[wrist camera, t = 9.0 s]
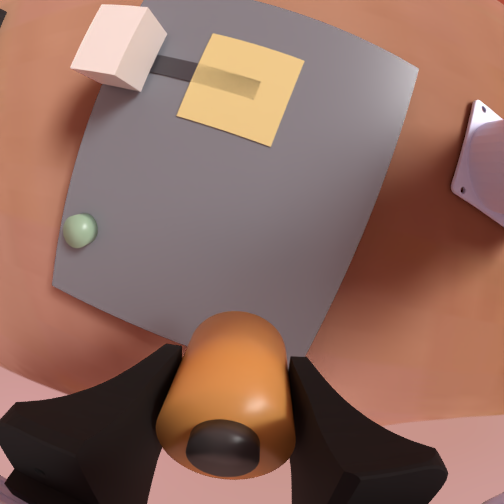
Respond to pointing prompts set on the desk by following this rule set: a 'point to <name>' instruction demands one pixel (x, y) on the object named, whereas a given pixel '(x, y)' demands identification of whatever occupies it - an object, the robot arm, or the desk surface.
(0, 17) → the disk drive
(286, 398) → the cap
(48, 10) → the desk surface
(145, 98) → the panel
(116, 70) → the lever
